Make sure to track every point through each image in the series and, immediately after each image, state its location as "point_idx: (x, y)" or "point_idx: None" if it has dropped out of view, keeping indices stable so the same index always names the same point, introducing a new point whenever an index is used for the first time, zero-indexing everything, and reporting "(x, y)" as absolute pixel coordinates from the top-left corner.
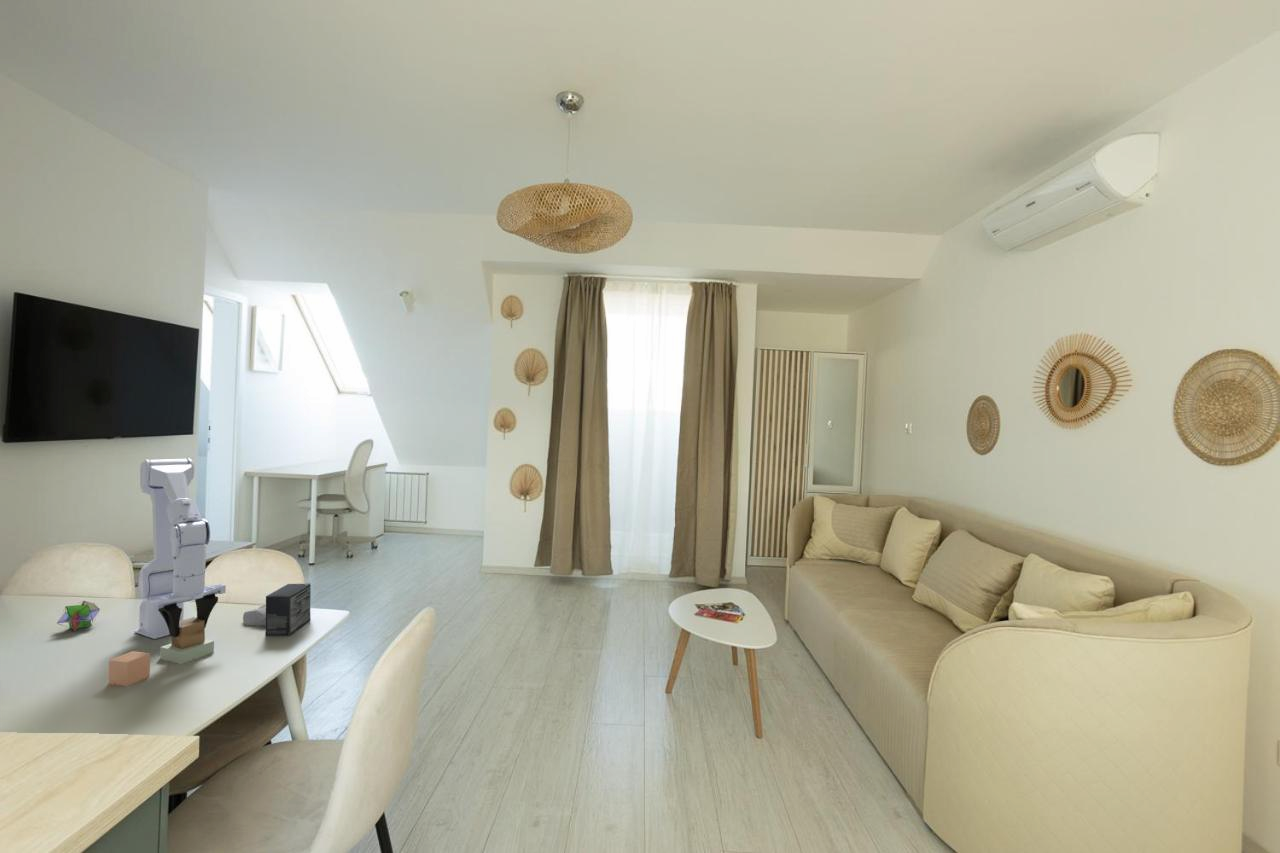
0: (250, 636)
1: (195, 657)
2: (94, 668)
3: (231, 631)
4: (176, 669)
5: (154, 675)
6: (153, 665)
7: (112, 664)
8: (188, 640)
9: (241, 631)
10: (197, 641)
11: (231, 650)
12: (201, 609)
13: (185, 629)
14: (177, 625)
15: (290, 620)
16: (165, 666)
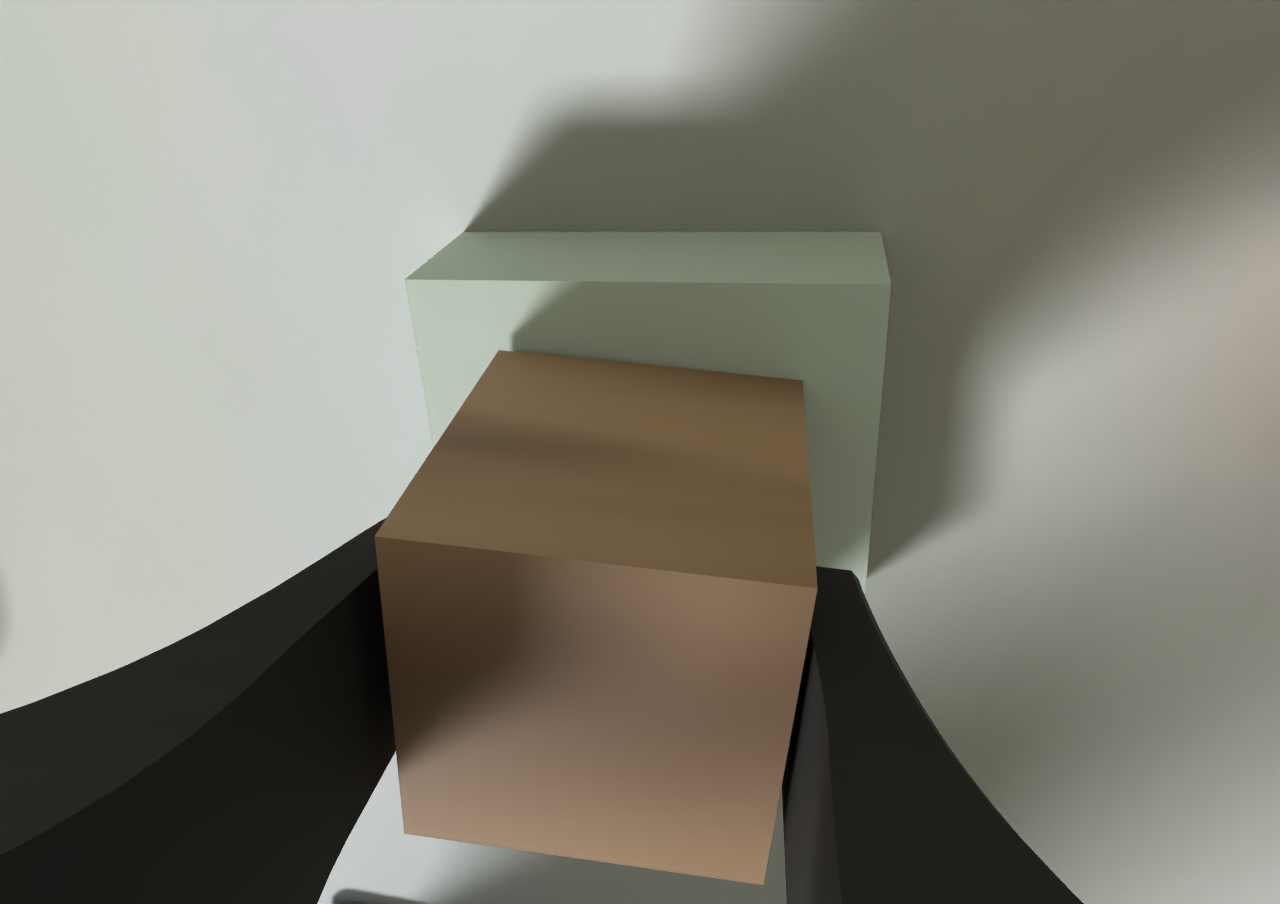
0: (8, 294)
1: (688, 236)
2: (1234, 872)
3: (113, 592)
4: (1027, 100)
5: (1272, 173)
6: (1016, 482)
7: None
8: (708, 421)
9: (42, 510)
10: (590, 375)
11: (312, 63)
12: (256, 846)
13: (746, 541)
14: (855, 690)
15: None
16: (996, 333)
